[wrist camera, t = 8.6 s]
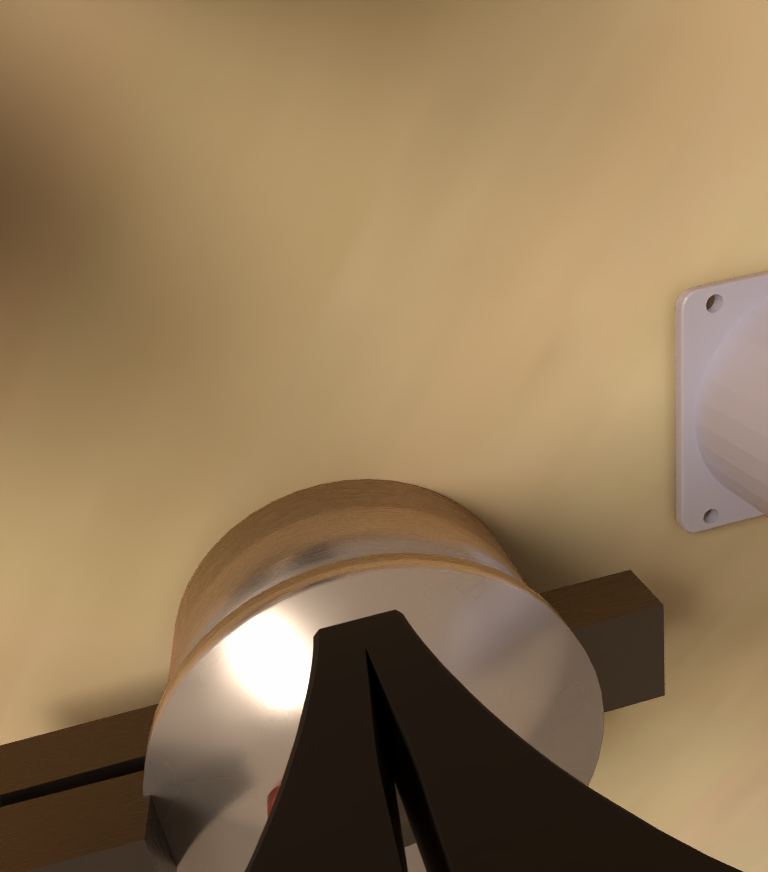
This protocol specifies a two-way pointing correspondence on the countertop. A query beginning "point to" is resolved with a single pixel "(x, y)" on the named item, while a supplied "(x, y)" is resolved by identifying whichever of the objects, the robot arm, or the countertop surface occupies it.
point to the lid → (282, 707)
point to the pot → (324, 544)
